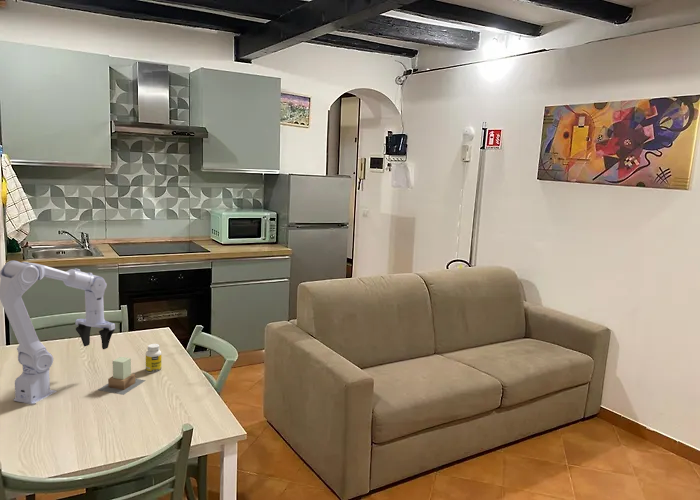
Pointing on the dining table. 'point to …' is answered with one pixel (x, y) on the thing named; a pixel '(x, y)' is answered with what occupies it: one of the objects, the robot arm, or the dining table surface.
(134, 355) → the dining table surface
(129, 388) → the mat
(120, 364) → the sage pillar
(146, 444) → the dining table surface
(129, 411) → the dining table surface
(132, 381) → the walnut block
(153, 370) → the supplement bottle
